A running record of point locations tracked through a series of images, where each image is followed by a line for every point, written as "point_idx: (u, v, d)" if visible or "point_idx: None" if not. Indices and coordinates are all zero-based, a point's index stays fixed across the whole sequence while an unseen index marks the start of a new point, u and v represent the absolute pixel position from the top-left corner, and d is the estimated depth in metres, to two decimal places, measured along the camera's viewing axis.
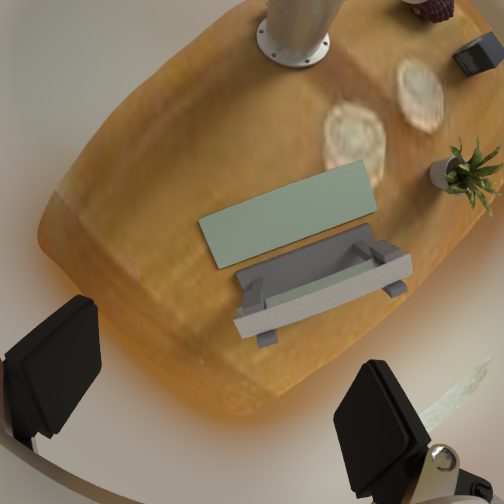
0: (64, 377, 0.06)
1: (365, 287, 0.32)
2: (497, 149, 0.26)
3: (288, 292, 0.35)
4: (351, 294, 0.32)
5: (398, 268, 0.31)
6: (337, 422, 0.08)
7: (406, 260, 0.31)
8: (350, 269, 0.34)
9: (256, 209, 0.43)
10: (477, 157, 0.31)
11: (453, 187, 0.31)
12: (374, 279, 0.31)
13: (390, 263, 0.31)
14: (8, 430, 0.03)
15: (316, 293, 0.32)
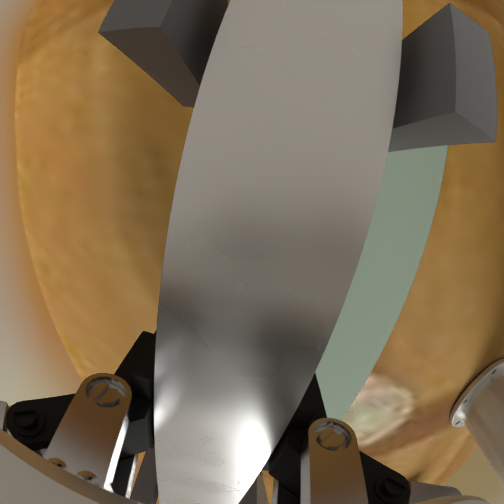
0: None
1: (186, 497, 0.07)
2: None
3: None
4: (183, 478, 0.06)
5: None
6: None
7: None
8: None
9: (409, 236, 0.18)
10: None
11: None
12: None
13: None
14: (113, 465, 0.03)
15: (279, 421, 0.05)
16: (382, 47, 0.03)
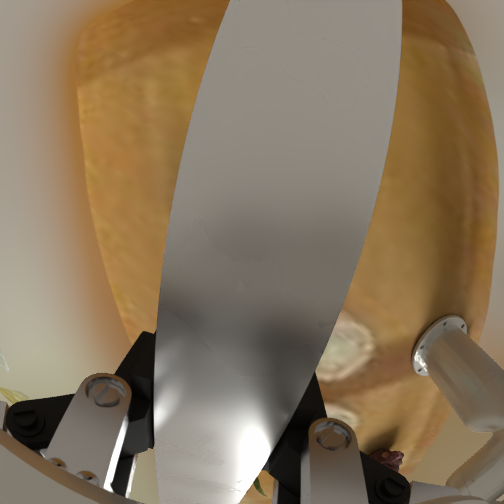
0: None
1: (186, 497, 0.07)
2: (260, 490, 0.29)
3: None
4: (182, 478, 0.06)
5: None
6: None
7: None
8: None
9: None
10: None
11: None
12: None
13: None
14: (113, 465, 0.03)
15: (279, 420, 0.05)
16: (381, 47, 0.03)
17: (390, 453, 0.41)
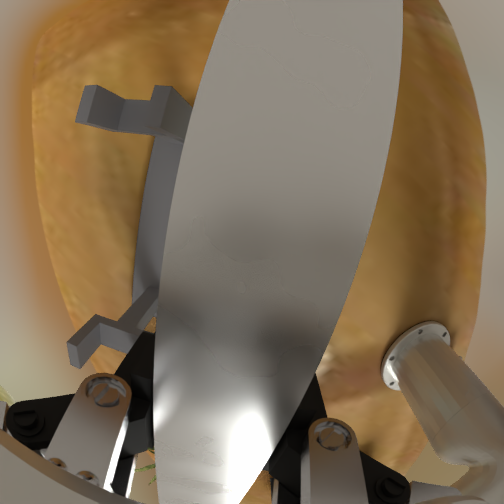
0: None
1: (185, 497, 0.07)
2: None
3: None
4: (182, 479, 0.06)
5: None
6: None
7: None
8: None
9: None
10: None
11: None
12: None
13: None
14: (113, 464, 0.03)
15: (280, 421, 0.05)
16: (382, 46, 0.03)
17: None
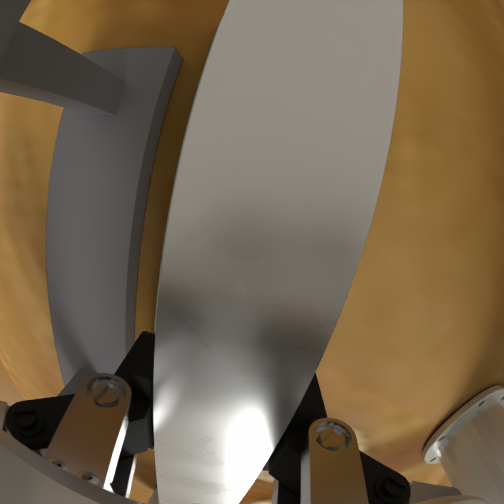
0: None
1: (185, 497, 0.07)
2: None
3: None
4: (182, 478, 0.06)
5: None
6: None
7: None
8: None
9: None
10: None
11: None
12: None
13: None
14: (113, 464, 0.03)
15: (280, 421, 0.05)
16: (382, 46, 0.03)
17: None
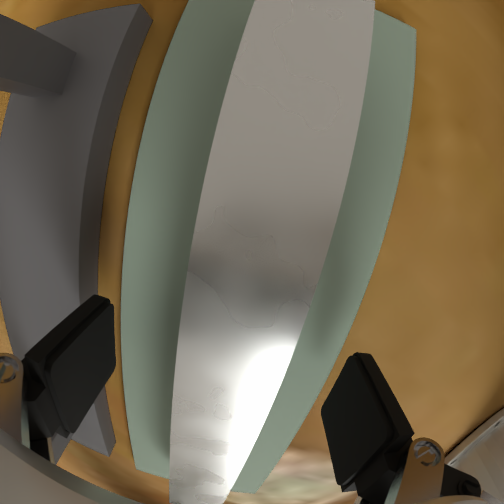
0: (82, 376, 0.06)
1: (195, 462, 0.08)
2: None
3: None
4: (194, 438, 0.08)
5: (198, 499, 0.10)
6: (324, 415, 0.08)
7: None
8: None
9: (337, 228, 0.09)
10: None
11: None
12: (202, 477, 0.09)
13: (221, 498, 0.10)
14: (24, 433, 0.03)
15: (278, 370, 0.07)
16: (351, 80, 0.05)
17: None
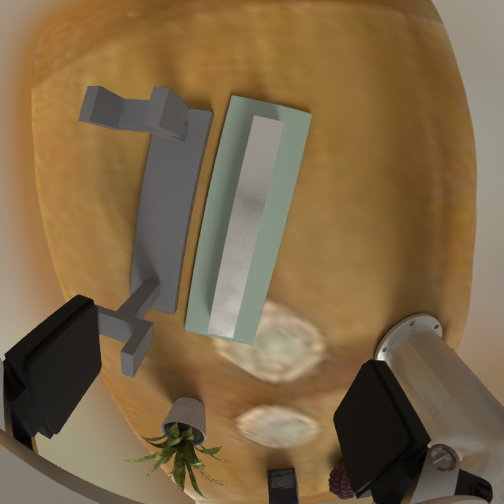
0: (64, 377, 0.06)
1: (228, 278, 0.29)
2: (198, 491, 0.27)
3: None
4: (230, 260, 0.28)
5: (224, 319, 0.30)
6: (337, 422, 0.08)
7: (227, 331, 0.30)
8: None
9: (277, 190, 0.29)
10: (195, 464, 0.31)
11: (178, 440, 0.26)
12: (229, 291, 0.29)
13: (236, 315, 0.30)
14: (8, 430, 0.03)
15: (257, 225, 0.27)
16: (273, 150, 0.25)
17: None
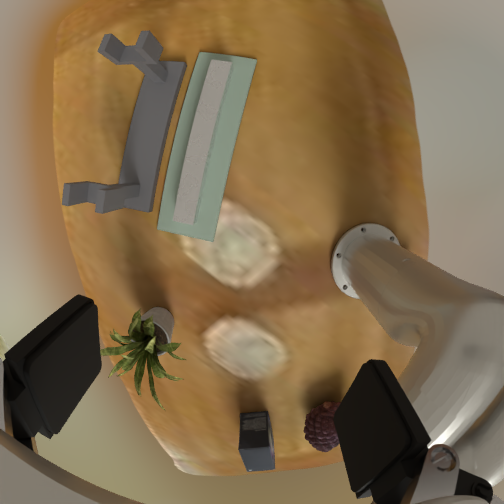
0: (64, 377, 0.06)
1: (189, 171, 0.35)
2: (155, 397, 0.33)
3: (221, 112, 0.35)
4: (191, 156, 0.35)
5: (186, 207, 0.36)
6: (337, 422, 0.08)
7: (188, 218, 0.37)
8: (207, 168, 0.37)
9: (230, 111, 0.36)
10: (157, 370, 0.37)
11: (137, 320, 0.32)
12: (190, 182, 0.36)
13: (195, 202, 0.36)
14: (8, 430, 0.03)
15: (211, 129, 0.34)
16: (224, 80, 0.32)
17: (333, 404, 0.45)
